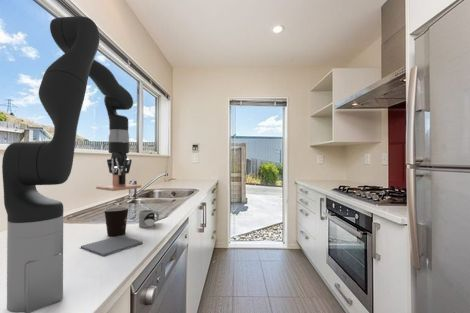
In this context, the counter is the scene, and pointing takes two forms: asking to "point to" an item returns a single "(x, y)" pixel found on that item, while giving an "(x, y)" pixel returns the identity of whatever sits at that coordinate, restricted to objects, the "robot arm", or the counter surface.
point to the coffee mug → (116, 221)
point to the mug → (147, 218)
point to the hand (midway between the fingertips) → (119, 183)
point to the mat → (111, 245)
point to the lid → (118, 185)
